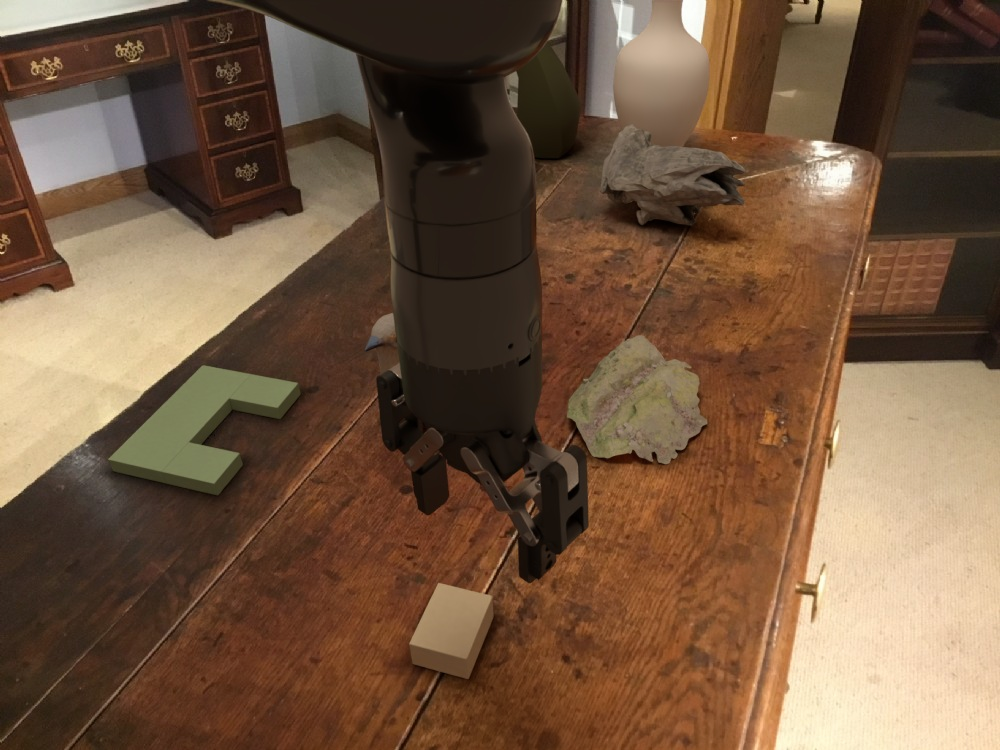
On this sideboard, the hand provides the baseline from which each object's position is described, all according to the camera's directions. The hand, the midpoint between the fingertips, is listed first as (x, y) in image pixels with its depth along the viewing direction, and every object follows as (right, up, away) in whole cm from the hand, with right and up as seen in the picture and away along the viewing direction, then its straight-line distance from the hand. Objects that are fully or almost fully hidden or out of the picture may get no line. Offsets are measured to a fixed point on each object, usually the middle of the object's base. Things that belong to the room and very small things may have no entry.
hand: (482, 538), depth 53 cm
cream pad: (-3, -10, +13) cm, 17 cm away
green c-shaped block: (-29, +4, +35) cm, 45 cm away
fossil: (+25, +33, +69) cm, 80 cm away
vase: (+26, +44, +85) cm, 99 cm away
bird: (-7, +5, +34) cm, 35 cm away
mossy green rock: (+15, +6, +35) cm, 39 cm away
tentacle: (+8, +48, +91) cm, 103 cm away
